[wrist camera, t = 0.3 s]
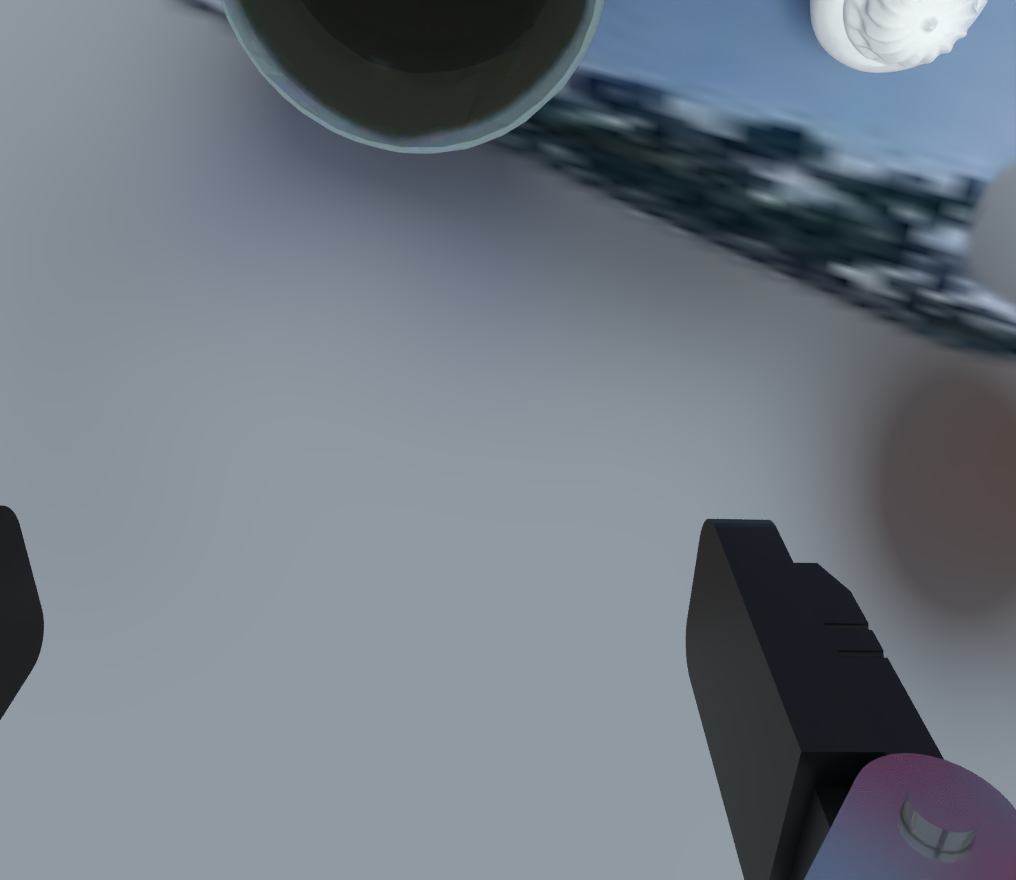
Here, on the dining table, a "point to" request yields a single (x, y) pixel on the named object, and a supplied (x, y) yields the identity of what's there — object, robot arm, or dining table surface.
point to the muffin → (891, 30)
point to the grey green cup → (416, 63)
